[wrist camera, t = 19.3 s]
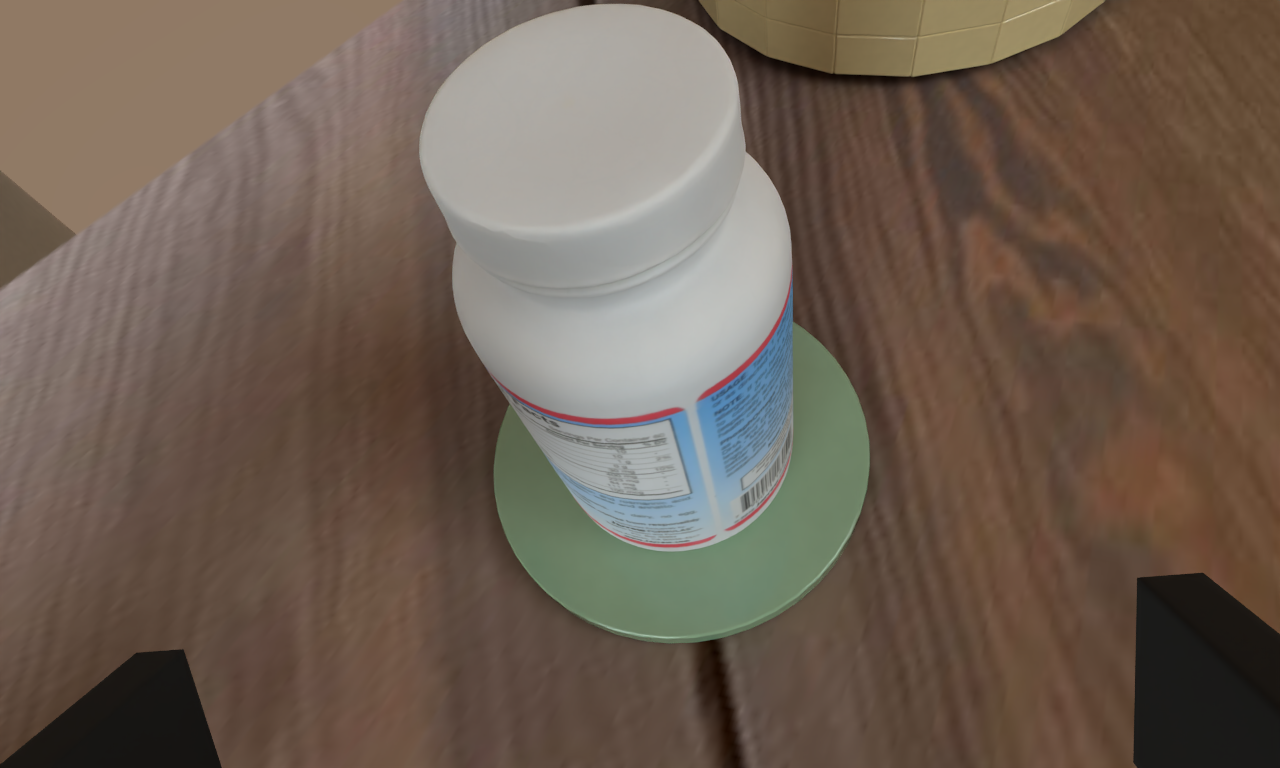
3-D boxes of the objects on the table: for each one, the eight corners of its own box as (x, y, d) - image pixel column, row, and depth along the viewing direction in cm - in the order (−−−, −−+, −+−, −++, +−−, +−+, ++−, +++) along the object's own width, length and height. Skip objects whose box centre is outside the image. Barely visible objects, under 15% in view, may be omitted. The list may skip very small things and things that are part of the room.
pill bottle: (720, 316, 22) (669, -79, 13) (839, 487, 19) (892, 136, 9) (530, 411, 22) (326, 75, 12) (620, 604, 18) (441, 357, 9)
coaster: (428, 518, 21) (419, 511, 21) (627, 260, 25) (623, 248, 24) (748, 730, 17) (747, 727, 17) (931, 386, 21) (935, 375, 20)
